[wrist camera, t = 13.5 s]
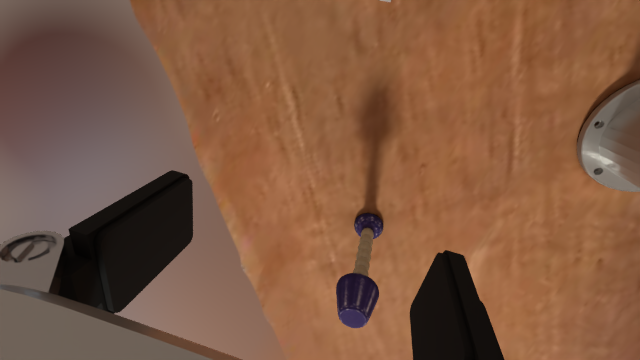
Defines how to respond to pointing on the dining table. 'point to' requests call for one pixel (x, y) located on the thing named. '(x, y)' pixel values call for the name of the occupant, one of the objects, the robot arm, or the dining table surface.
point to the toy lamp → (359, 277)
